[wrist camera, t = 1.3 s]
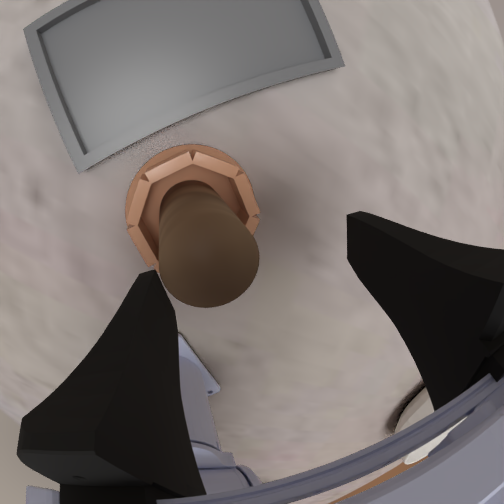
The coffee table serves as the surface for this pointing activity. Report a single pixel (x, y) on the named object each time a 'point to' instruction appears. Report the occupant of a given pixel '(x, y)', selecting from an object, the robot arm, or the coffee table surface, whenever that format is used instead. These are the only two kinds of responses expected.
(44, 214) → the coffee table surface
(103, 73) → the charcoal tray
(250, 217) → the terracotta cup
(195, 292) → the walnut peg
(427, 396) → the bowl
